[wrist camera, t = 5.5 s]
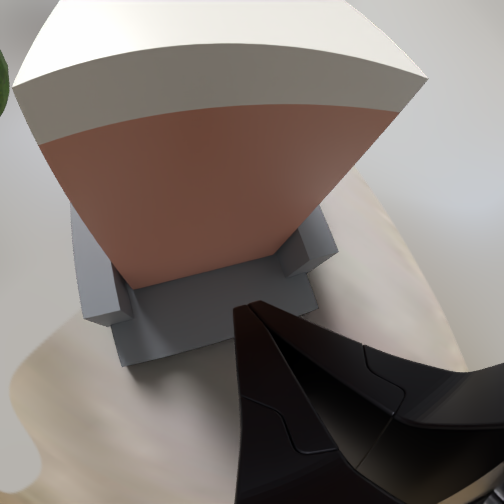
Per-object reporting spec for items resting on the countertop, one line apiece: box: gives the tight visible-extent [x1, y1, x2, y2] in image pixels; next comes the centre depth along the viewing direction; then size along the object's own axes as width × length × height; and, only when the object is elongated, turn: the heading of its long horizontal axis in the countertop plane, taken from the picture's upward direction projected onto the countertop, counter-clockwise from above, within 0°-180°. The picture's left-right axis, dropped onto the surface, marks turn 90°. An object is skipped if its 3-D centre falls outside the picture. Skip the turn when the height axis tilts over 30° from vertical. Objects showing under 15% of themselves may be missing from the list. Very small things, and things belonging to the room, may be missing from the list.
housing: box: [70, 202, 339, 367], centre depth 12 cm, size 13×11×7 cm
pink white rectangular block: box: [12, 0, 428, 290], centre depth 9 cm, size 5×7×11 cm
